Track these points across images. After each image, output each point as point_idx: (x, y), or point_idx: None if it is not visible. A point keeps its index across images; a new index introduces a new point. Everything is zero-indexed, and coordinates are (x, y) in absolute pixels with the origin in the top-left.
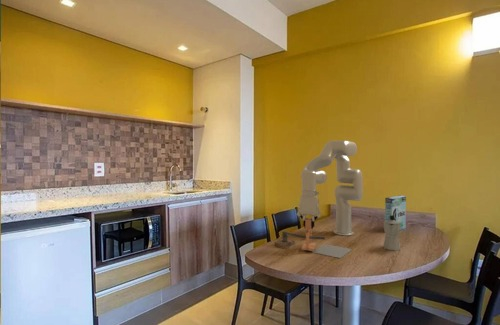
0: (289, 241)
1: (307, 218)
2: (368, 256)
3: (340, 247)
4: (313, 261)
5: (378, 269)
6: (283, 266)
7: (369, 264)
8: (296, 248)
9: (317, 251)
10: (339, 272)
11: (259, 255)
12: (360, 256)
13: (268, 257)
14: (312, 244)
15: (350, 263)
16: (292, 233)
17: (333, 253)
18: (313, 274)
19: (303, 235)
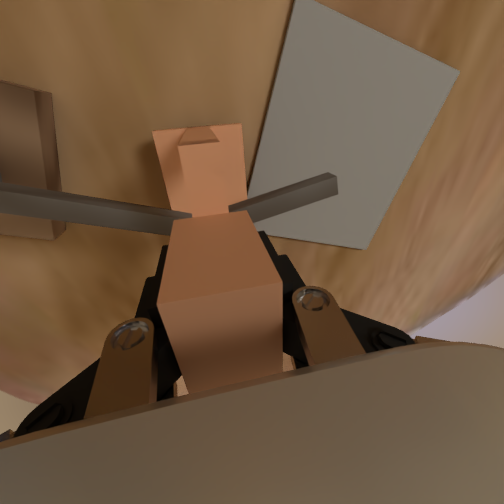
0: (14, 145)
1: (203, 355)
2: (491, 161)
3: (399, 57)
4: None
5: (458, 282)
6: (187, 390)
7: (450, 255)
8: (128, 199)
9: None
10: None
11: (34, 368)
12: (455, 178)
13: (88, 365)
14: (229, 176)
15: (390, 276)
16: (20, 201)
17: (343, 207)
18: None
19: (161, 223)
